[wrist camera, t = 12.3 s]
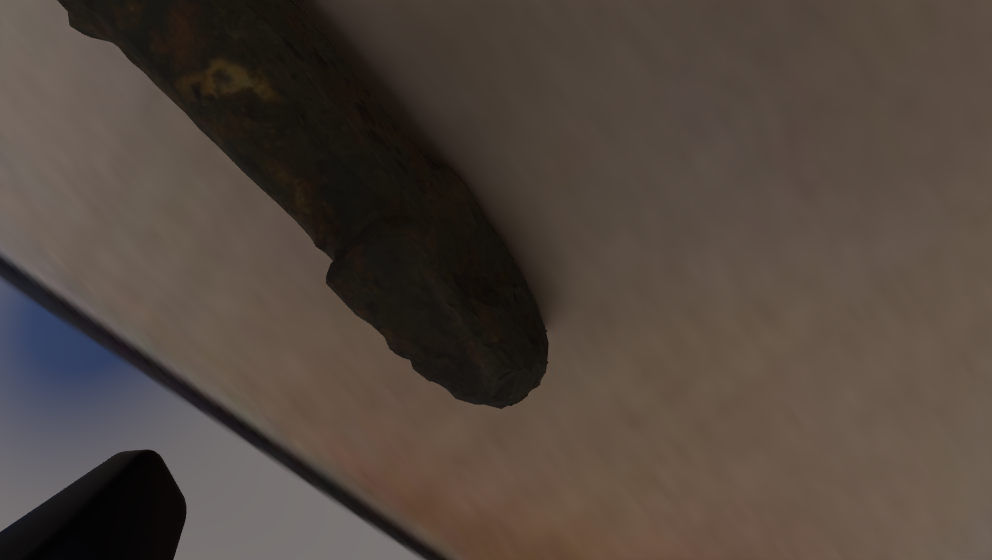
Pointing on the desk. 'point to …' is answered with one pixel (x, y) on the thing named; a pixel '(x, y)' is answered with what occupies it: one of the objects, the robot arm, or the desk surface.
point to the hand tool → (343, 183)
